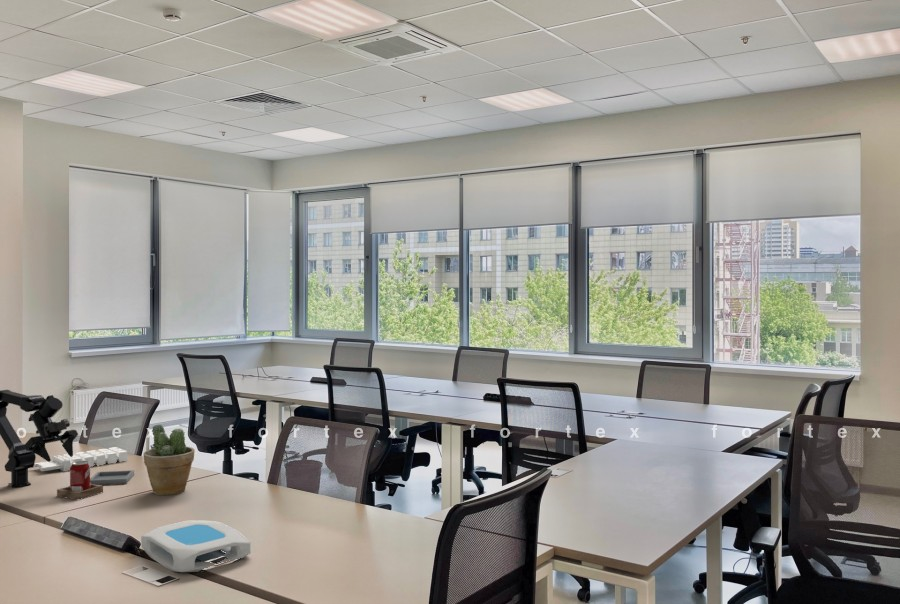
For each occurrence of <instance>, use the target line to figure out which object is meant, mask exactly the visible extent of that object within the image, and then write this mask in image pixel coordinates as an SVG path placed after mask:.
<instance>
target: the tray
mask: <svg viewBox="0 0 900 604" xmlns="http://www.w3.org/2000/svg"><path fill="white" fill-rule="evenodd" d="M133 475H134V476H135V470H134V469H133V470H111V471H108V470H107V471H97V472H96V473H95V474H94V475H93V476H92V477H90V484H95V485H102V484H103V485H102V486H105V485H104V484H112V485H126V484H125V483H127V482H128V481H129V482H130V480H131V479H132V478H133V477H134V476H133ZM132 476H133V477H132ZM129 482H128V483H129ZM128 483H127V484H128Z"/></svg>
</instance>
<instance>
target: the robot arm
mask: <svg viewBox="0 0 900 604" xmlns="http://www.w3.org/2000/svg"><path fill="white" fill-rule="evenodd" d="M9 404H11V405H14V406H15V405H16V406H18V407H19V409H20V410H21V411H24V412H26V413H30V415H29V417H28V422H33V424H34V426H35V428H36V431H35V434H36V435H37V436H32V437H30V438H29V439H28V440H27V441H26V442H25V443H23V442H22V441H21V439H20V437H19V435H18V434H17V432H16V430H15V429H14V427H13V425H12V423H11V422H10V421H9V419H8V416H7V411H8V408H7V407H8V406H9ZM62 408H63V402H62V400H60V399H59V398H57V397H55V395H53V394H52V395H48V396H46V397H44V396H43V395H40V394H38V395H37V394H34V395H33V394H32V395H27V394H22V393H19V392H16V391H15V392H14V391H12V390H10V389H3V390H2V389H1V390H0V437H1V439H2V441H4V444H5V445H6V448H7V449H8V457H7V458H8V460H7V462H6V463H5V465H4V470H5V472H9V473H10V474H11V475H10V481H11V482H8V484H7V485H9V487H11V488H18V487H19V488H20V487H26V486H31V485H32V483H31V482H29V469H32V468H33V469H34V468H35V467H34V463H35V462H36V458H37V457H36V455H37V456H39V457H40V458H42V459H44V460H45V462H47V461H48V462H50V461H52V459H51V456H50V455H49V453H48V450H47V448H46V444H49V443H55V442H60V444H61V443H62V444H61V445H62V448H63V449H64V450H65V452H66V454H69V456H70V457H72V456H73V454H74V448H73V444H74V441H75V439H76V438H77V437H78V436H79V432H78V431H77V430H76V429H69V430H67V428H68V427H70V426H71V423H70V421H69V420H68V418H63V419H61V420H60V421H58V422H57V421H53V420H52V418H53V417H55V415H56V414H57V413H58V412H59V411H61V409H62ZM31 412H33V413H31ZM64 430H65V431H64ZM63 431H64V433H63V434H62V432H63Z"/></svg>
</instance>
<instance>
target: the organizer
mask: <svg viewBox="0 0 900 604" xmlns="http://www.w3.org/2000/svg"><path fill="white" fill-rule="evenodd" d="M128 455H129V454H128V451H127V450H125V449H123V448H119V447H118V446H113V447H108V448H100V449H97V450H95V449H93V450H92V449H91V450H85V452H84V451H79V452H74V453H73V456H72V457H70V456H69V454H68V453H66V454H65V453H64V454H62V455H60V454H58V455H53V456H52V460H51V461H50V462H48V461H41V462H36V463H34V467H33V468H39V469H40V472H46V471H52V470H59V469H60V471H61V470H62V471H61V472H63V471H65V472H69V471H68V470H70V467H71V466H72V463H73V462H77V461H88V464H89V465H90V468H92V467H91V466H94V467H95V465H102V464H105V465H106V463H108V464H107V465H110V464H109V463H114V464H117V463H119V462H120V463H123V462H122V461H126V462H129V461H128V457H129V456H128ZM117 461H119V462H117ZM105 462H106V463H105ZM116 462H117V463H116ZM94 464H95V465H94ZM102 466H103V465H102Z"/></svg>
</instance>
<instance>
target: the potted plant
mask: <svg viewBox="0 0 900 604" xmlns="http://www.w3.org/2000/svg"><path fill="white" fill-rule="evenodd" d="M151 432H152V435H153V444H154V445H153V446H152V447H153V448H150V449H147V450H145V451H144V452H143V460H144V461H143V464H144V465H145V467H146V472H147V476H148V478H149V483H150V486H151V489H152V492H153V494H154V495H156V494H157V495H156V496H173V495H172V494H175V495H178V493H179V494H181V492H182V493H183V492H184V491H186V487H187V483H188V481H189V476H190V473H191V469H192V464H193V462H194V459H195V451H196V450H195V448H194V447H192V446H191V447H190V446H187V445H186V442H185V440H186V436H185V430H183V429H182V428H179V427H178V428H174V429H172V431H171V433H170V435H169V437H168V435H167V434H166V430H165V427H164V426H163V425H162V424H154V426H152V430H151Z"/></svg>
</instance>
